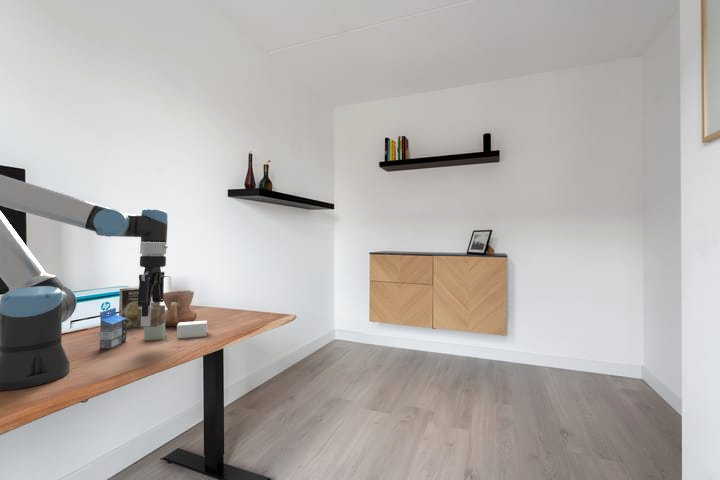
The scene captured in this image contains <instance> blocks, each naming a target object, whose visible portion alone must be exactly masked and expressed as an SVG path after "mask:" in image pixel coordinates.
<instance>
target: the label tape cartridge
mask: <svg viewBox="0 0 720 480" xmlns="http://www.w3.org/2000/svg"><path fill="white" fill-rule="evenodd" d="M116 310H117V308H116V307H113V308H110V309H108V310H107V309H106V310H103V311H101V312H99V315H100V317H99V318H100V324H99V325H100V326H99V328H100V330H99V349H100V350H110V349H111V350H112V349H114V348H115V347H118V346H119V345H121V344H123V343H125V342H127V328H126V318H123V317H121V316H119V314H117V311H116Z"/></svg>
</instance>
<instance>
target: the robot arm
mask: <svg viewBox="0 0 720 480" xmlns="http://www.w3.org/2000/svg"><path fill="white" fill-rule="evenodd" d="M0 207H4V208H8V209H11V210H15V211H19V212H23V213H26V214H30V215H33V216H37V217H40V218H45V219H49V220H51V221H56V222H59V223H63V224H67V225H71V226H74V227H78V228H82V229H85V230H88V231H91V232H94V233H95V234H96V235H97V236H99V237H100V236H101V237H108V238H109V237H118V238H119V237H124V238H126V237H127V238H128V237H129V238H140V244H139V245H140V249H139V254H140V257H139V267H141V268H144V270H143V274H138V281H139V283H138V288H139V294H138V306H142V307H141V326H151V307H152V306H156V305H161V303H164V300H163V298H164V293H165V292H164V291H165V290H164V288H165V286H164V285H165V280H164V279H165V274H166V273H165V271H162V269H161V268H164V267H166V266H167V257H166V256H165V255H166V254H167V249H168V248H169V247H168V245H167V240H168V223H169V222H168V212H167V211H165V210H162V209H154V208H151V209H148V208H143V209H142V210H141V214H134V213H133V214H131V213H123V211H120V210H118V209H115V208H109V207H108V206H107V207H106V206H103V205H100V204H96V203H93V202H90V201H86V200H84V199H80V198H78V197H74V196H70V195H67V194H64V193H62V192H58V191H54V190H51V189H48V188H45V187H42V186H38V185H35V184H32V183H29V182H26V181H22V180H18V179H16V178H13V177H9V176H7V175H3V174H0ZM0 279H1V280H2V281H3V282H4V284H5V285H6V286H7V287H8V291H7V292H5V293H4V294H2V296H0V391H14V390H19V389H21V390H22V389H26V388H30V387H31V388H32V387H36V386H40V385H43V384H47V383H49V382H53V381H56V380H58V379H60V378H63V377H64V376H66V375H68V374H69V372H70V371H71V370H70V368H71V367H70V361H69V359H68V356H67V354H66V352H65V349H64V347H63V344H62V337H63V336H62V335H63V333H62V332H63V331H62V330H63V329H62V328H63V327H62V326H63V323H64V322H66V321H67V320H68V319H70V317H72V315H73V314H74V313H75V310H76V308H77V305H78V299H77V296H76V294H75V293H74V292H73V290H72V289H70V288H68V287H66V286H64V285H63V283H62V281H61V280H60V279H59V277H58V275H56V274H51V273H48V272H46V271H45V270H44V267H42V265H41V264H40V262H39V261H38V259H36V257H35V256H34V254H32V252H31V250H30V248H29V247H28V246H27V245H26V244H25V242H24V241H23V239H22V238H21V236H19V234H18V233H17V231H16V230H15V229H14V228H13V226H12V224H10V222H9V221H8V219H7V218H6V216H5V215H4V214H3V212H2V211H1V210H0ZM151 301H152V302H151Z"/></svg>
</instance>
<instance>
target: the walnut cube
mask: <svg viewBox="0 0 720 480" xmlns="http://www.w3.org/2000/svg"><path fill="white" fill-rule="evenodd" d="M165 312H166V305H165V304H164V305H163V304H162V305H161V304H160V305H156V306H152V307H151V326H141V308H139V309H138V316H137V327H136V328H144V327H158V326H159V325H161V324H163V323H165Z"/></svg>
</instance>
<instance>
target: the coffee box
mask: <svg viewBox="0 0 720 480" xmlns="http://www.w3.org/2000/svg"><path fill="white" fill-rule="evenodd" d="M138 294H139V287H129V288H128V287H127V288H119V297H118V298H119V302H118V303H119V304H118V316H121V317H123V318H126V329H130V328H131V327H132V328H138V327H137V316H138V309H139V308H141V307H142V306H138ZM132 328H131V329H132Z"/></svg>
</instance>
